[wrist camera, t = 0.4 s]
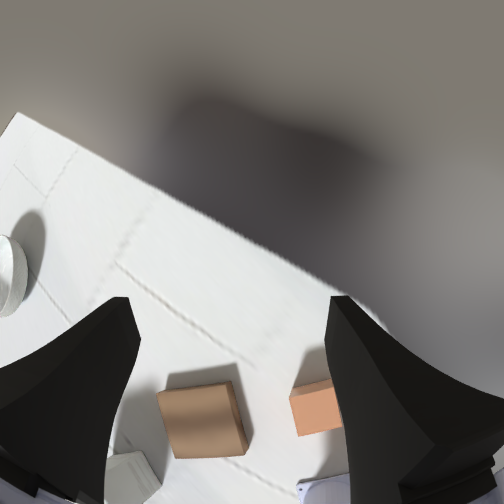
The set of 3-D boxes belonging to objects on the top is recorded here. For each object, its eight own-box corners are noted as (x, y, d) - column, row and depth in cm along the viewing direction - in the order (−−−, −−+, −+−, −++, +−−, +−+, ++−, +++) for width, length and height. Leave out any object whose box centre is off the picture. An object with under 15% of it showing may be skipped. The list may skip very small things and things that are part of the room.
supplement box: (111, 454, 37) (61, 478, 24) (142, 449, 36) (92, 478, 24) (131, 489, 34) (87, 520, 22) (163, 487, 34) (121, 523, 22)
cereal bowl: (48, 280, 46) (21, 273, 40) (17, 335, 46) (-9, 334, 39) (24, 227, 52) (1, 218, 45) (-4, 280, 51) (-26, 275, 44)
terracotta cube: (339, 413, 32) (342, 426, 28) (300, 422, 33) (298, 436, 28) (331, 378, 34) (333, 387, 29) (292, 388, 34) (288, 397, 30)
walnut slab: (249, 446, 34) (244, 455, 31) (183, 451, 35) (175, 458, 32) (231, 380, 36) (225, 384, 34) (166, 389, 38) (156, 393, 35)
